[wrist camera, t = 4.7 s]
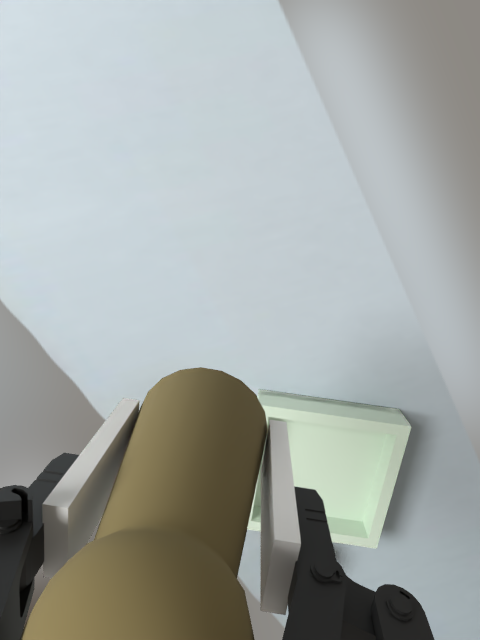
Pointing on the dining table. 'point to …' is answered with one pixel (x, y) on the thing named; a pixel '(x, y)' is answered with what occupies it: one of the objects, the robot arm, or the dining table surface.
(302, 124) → the dining table surface
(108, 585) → the olive tall rounded piece
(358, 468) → the tray
